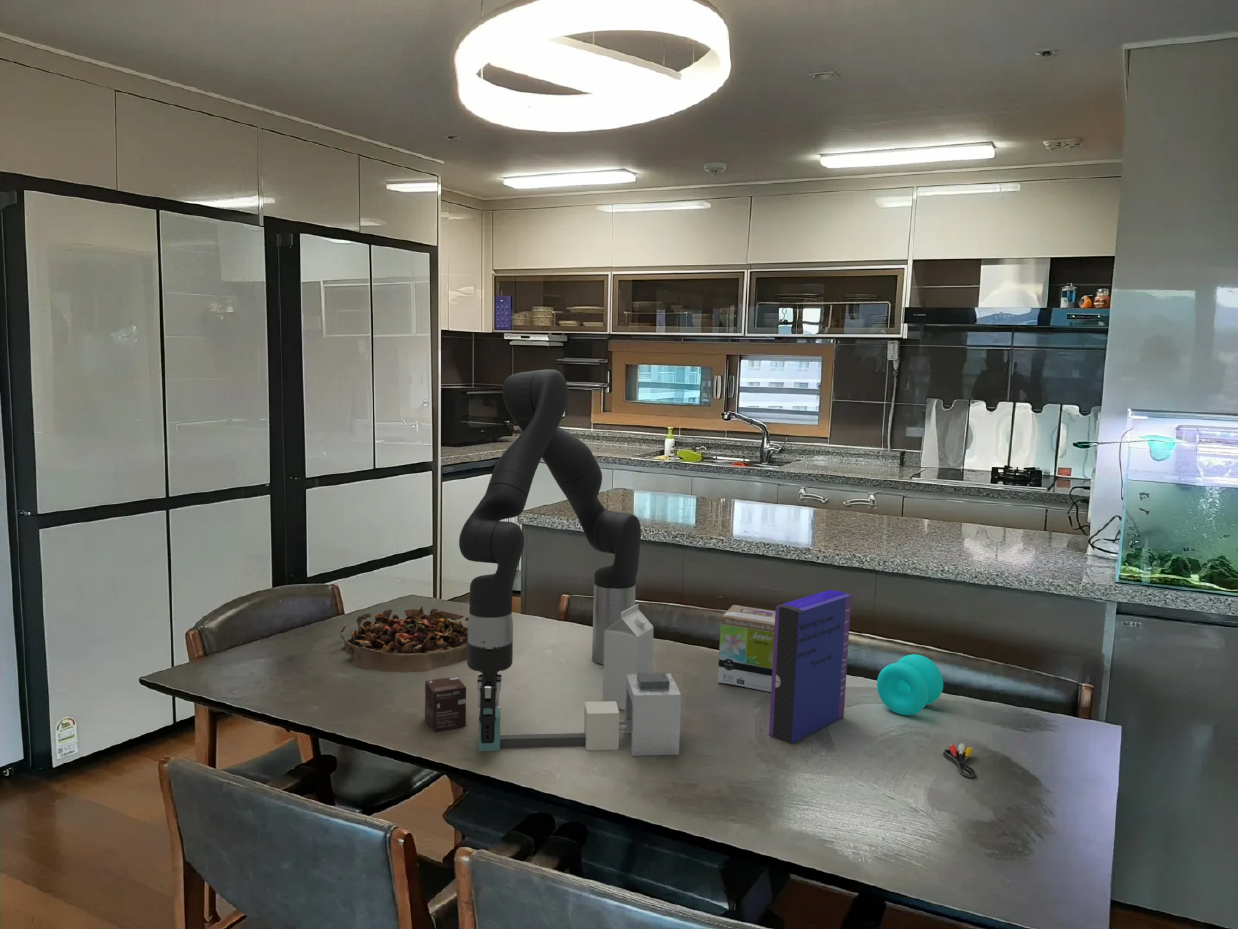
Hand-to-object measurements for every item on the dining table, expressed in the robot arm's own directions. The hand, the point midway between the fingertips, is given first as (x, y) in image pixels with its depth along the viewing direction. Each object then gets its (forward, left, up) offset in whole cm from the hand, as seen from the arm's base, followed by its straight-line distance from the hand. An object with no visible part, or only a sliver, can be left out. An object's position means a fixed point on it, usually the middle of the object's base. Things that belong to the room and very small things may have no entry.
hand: (488, 731), depth 140 cm
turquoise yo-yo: (-12, +81, -3) cm, 82 cm away
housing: (0, +28, -3) cm, 28 cm away
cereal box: (-5, +58, -3) cm, 58 cm away
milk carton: (-17, +26, -3) cm, 31 cm away
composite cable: (+11, +79, -3) cm, 80 cm away
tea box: (-27, +55, -3) cm, 61 cm away
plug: (0, +11, -3) cm, 11 cm away
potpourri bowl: (-53, -19, -3) cm, 57 cm away
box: (-10, -8, -3) cm, 13 cm away
